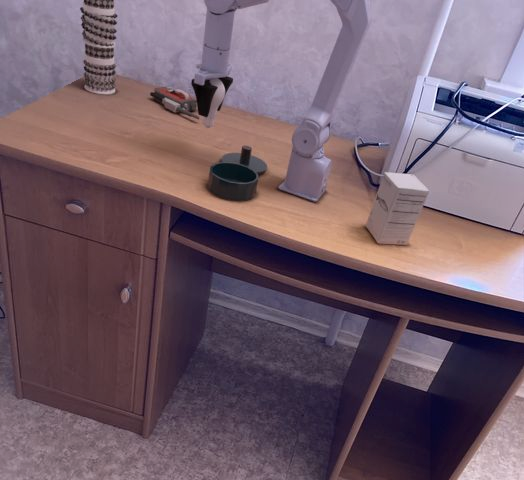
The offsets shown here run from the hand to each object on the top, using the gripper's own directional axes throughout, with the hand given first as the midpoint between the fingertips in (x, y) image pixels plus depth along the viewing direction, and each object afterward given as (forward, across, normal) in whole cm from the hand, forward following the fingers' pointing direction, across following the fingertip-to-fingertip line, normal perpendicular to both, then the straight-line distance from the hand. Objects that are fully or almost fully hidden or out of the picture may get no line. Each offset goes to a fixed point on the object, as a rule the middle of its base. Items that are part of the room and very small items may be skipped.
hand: (209, 112), depth 120 cm
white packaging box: (+11, +8, +48) cm, 50 cm away
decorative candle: (+10, -20, -43) cm, 49 cm away
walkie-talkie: (+10, -25, -20) cm, 34 cm away
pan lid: (+10, -2, +10) cm, 14 cm away
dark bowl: (+10, +12, +13) cm, 20 cm away
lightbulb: (+4, 0, 0) cm, 4 cm away
